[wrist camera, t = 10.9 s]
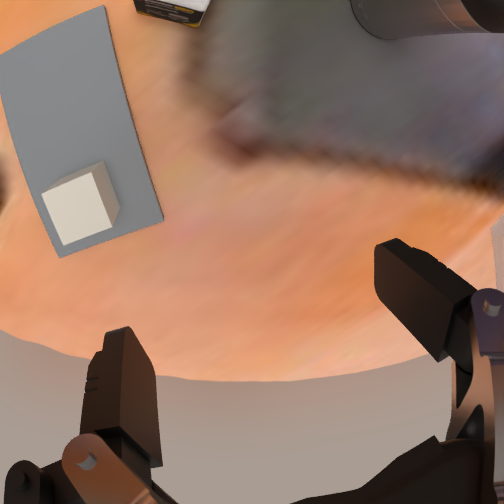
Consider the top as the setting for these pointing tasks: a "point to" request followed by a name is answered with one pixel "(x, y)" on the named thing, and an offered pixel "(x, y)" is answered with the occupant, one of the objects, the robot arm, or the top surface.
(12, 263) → the top surface
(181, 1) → the medicine bottle
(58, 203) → the beige cube block
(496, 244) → the tissue box
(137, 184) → the board
